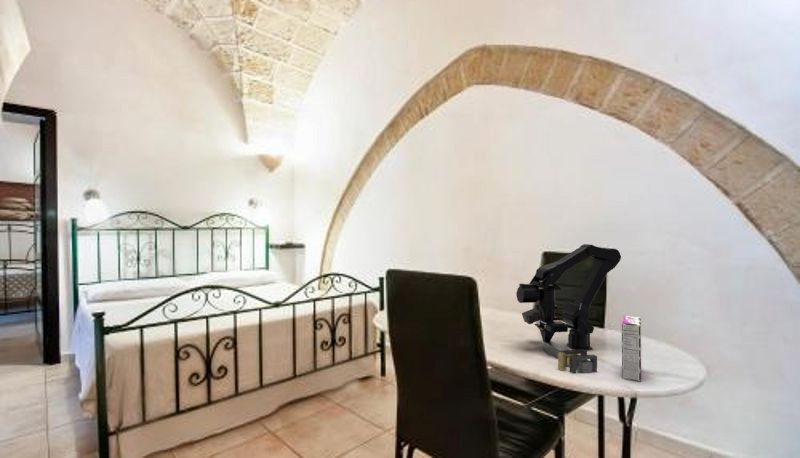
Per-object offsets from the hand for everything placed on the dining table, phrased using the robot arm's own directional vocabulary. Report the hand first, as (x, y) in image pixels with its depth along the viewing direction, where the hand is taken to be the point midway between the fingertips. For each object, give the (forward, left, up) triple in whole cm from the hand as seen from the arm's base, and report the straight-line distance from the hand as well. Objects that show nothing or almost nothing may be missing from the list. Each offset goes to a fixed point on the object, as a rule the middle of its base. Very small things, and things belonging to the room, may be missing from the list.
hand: (546, 345), depth 141 cm
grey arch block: (0, +17, -1) cm, 17 cm away
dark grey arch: (0, +22, -1) cm, 22 cm away
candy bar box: (-13, +26, -2) cm, 29 cm away
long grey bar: (0, +12, -1) cm, 12 cm away
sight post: (+5, +20, -1) cm, 20 cm away
